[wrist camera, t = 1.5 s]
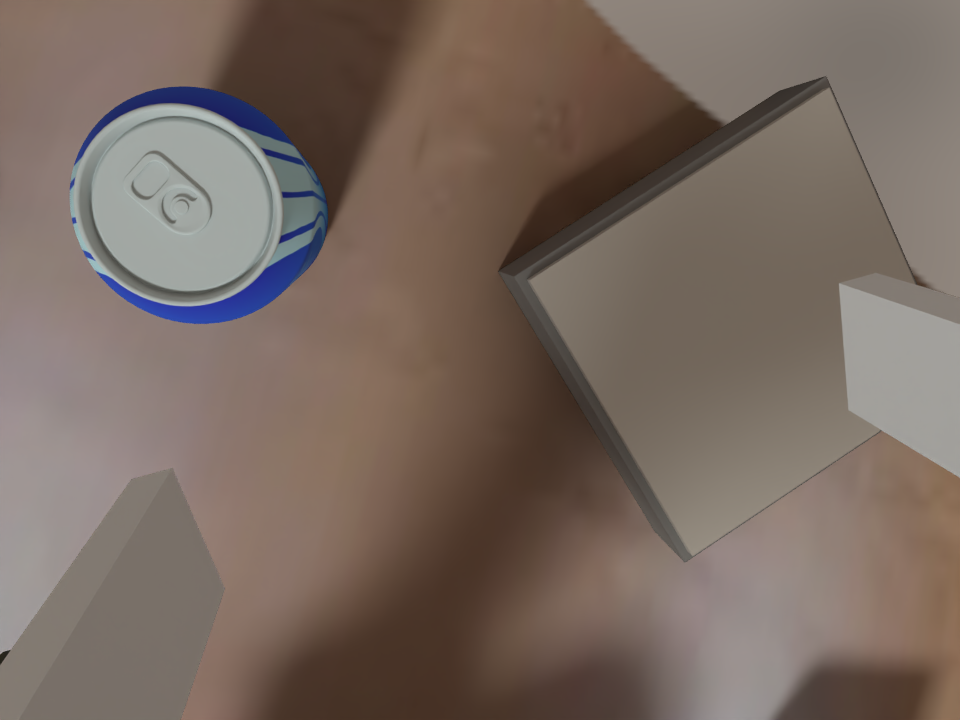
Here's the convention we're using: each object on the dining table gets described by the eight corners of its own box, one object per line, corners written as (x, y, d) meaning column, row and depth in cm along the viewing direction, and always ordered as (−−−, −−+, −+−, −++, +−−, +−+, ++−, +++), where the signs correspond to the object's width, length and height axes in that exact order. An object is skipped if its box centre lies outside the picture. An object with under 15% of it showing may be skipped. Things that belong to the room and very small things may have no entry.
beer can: (315, 125, 39) (287, 60, 23) (340, 279, 41) (330, 314, 25) (153, 142, 38) (10, 86, 22) (186, 300, 39) (76, 350, 24)
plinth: (655, 531, 47) (689, 567, 42) (498, 271, 42) (516, 277, 37) (904, 365, 48) (967, 381, 43) (779, 90, 43) (833, 73, 38)
